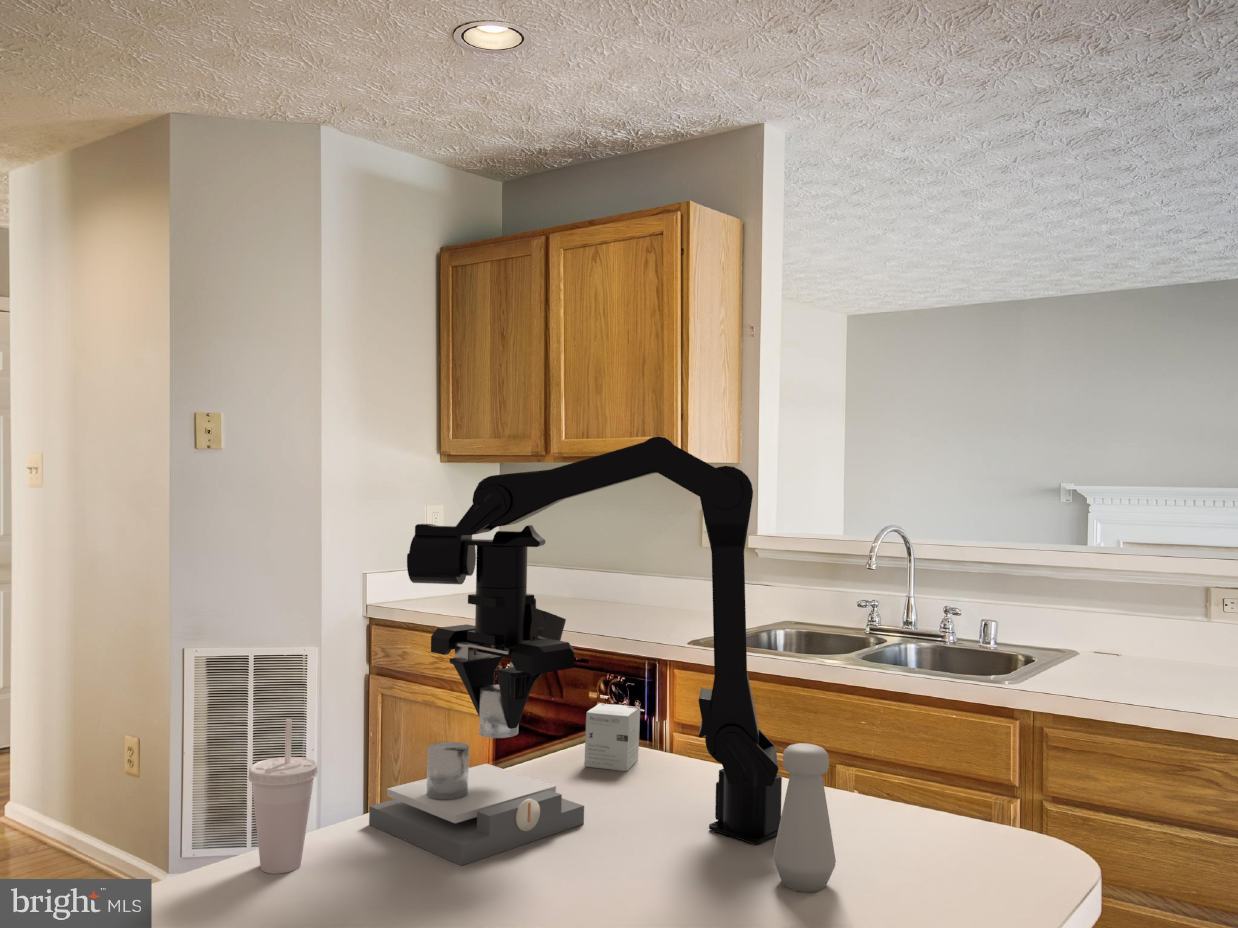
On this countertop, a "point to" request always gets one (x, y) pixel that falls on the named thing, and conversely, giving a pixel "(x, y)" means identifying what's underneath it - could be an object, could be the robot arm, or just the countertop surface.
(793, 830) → the salt shaker
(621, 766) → the skincare box
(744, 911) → the countertop surface
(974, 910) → the countertop surface
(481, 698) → the cylinder
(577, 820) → the scale
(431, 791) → the cylinder
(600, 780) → the countertop surface
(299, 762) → the smoothie
